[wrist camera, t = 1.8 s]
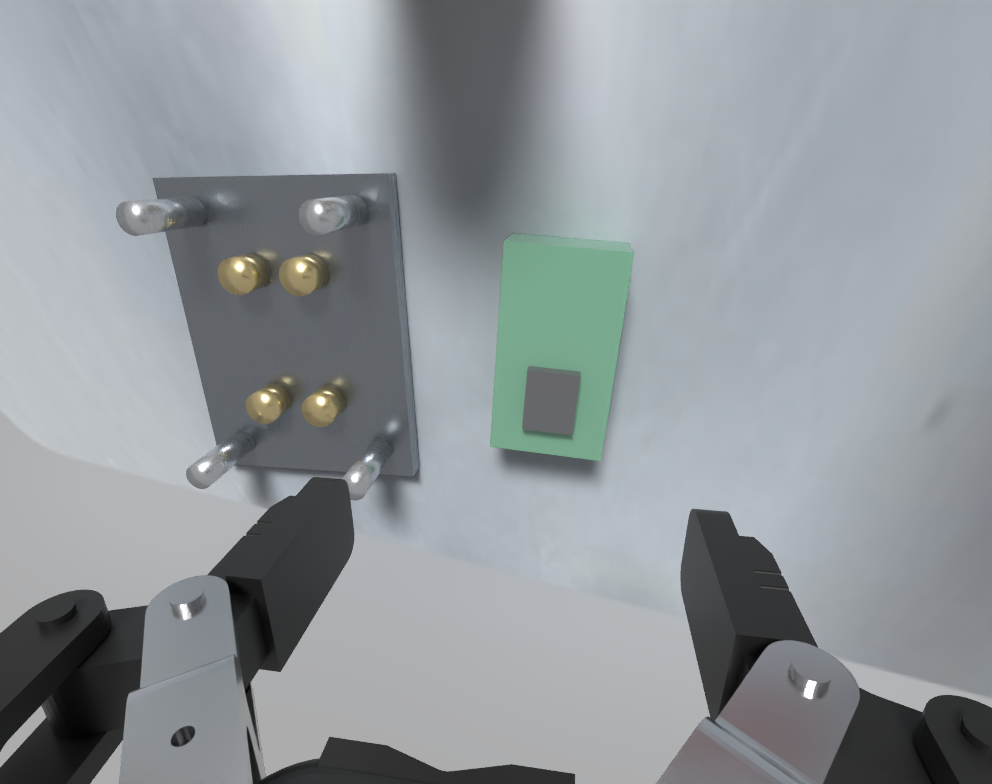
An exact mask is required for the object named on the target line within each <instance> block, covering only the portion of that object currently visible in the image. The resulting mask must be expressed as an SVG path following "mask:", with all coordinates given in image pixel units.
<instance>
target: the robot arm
mask: <svg viewBox="0 0 992 784" xmlns="http://www.w3.org/2000/svg"><path fill="white" fill-rule="evenodd" d="M353 544H354V527H353V519H352V510H351V502H350V494H349V487H348V484H347V482H346V480H344V479H332V478H320V477H313V478H312V479H311V480H310V481H309V482H308V483H307V484H306V485H305V486H304V487H303V489H302V490H301V491H300V492H299V493H298V494H297V495H296V496H289V497H287V498H285V499H283V500H282V501H280V502H278V503H277V504H275V505H273V506H272V507H270V508H269V509H268V510H267V511H266V513H265V514H264V515H263V516H262V517H261V518H260V519H259V520H258V521H257V524H254V526H252V528H251V529H250V530H249V531H248V532H247V534H246V536H243V537H242V538H241V539H240V540H239V541H238V543H237V544H236V545H235V546H234V547H233V548H232V549H231V550H230V551H229V552H228V553H227V554H226V555H225V556H224V558H223V559H222V560H221V561H220V562H219V563H218V564H217V565H216V566H215V567H214V568H213V569H212V570H211V572H210V573H209V574H208V575H205V576H204V575H203V576H195V577H191V578H187V579H184V580H181V581H179V582H177V583H174V584H173V585H171V586H169V587H167V588H166V589H164V590H163V591H162V592H160V593H159V594H158V595H157V596H155V598H154V599H153V600H152V601H151V602H150V604H149V605H148V606H140V607H134V608H125V609H118V610H111V611H108V610H107V607H106V604H105V601H104V598H103V596H102V595H101V594H100V593H98V592H96V591H93V590H75V591H71V592H66V593H63V594H59V595H57V596H54V597H52V598H49V599H47V600H45V601H43V602H41V603H39V604H37V605H36V606H34V607H32V608H31V609H29V610H28V611H27V612H25V613H24V614H23V615H22V616H20V617H19V618H18V619H17V620H16V621H14V622H13V623H12V624H11V625H10V626H9V627H7V628H6V629H5V630H4V631H3V632H1V633H0V751H1V750H2V748H3V746H4V745H5V743H6V742H7V741H8V740H9V739H10V737H11V736H12V735H13V734H14V733H15V732H16V731H17V730H18V729H19V728H20V727H21V726H22V725H23V724H24V723H25V722H26V721H27V719H28V718H29V717H30V716H31V715H32V714H33V713H34V712H35V711H36V710H37V709H38V708H39V707H40V706H42V708H43V710H44V712H45V715H46V719H45V720H44V721H43V722H42V723H41V724H40V725H39V726H38V727H37V728H36V729H35V731H34V732H33V733H32V734H31V735H30V736H29V737H28V738H27V739H26V740H25V741H24V742H23V744H22V745H21V746H20V747H19V748H18V749H17V750H16V751H15V752H14V753H13V755H11V757H10V758H9V759H8V760H7V761H6V762H5V763H4V764H3V765H2V766H1V767H0V784H90V783H91V782H92V780H93V779H94V778H95V776H96V775H97V774H98V772H99V771H100V770H101V768H102V767H103V765H104V764H105V763H106V761H107V760H108V759H109V757H110V756H111V755H112V753H113V752H114V751H115V749H116V748H117V747H118V745H119V744H120V743H121V741H122V740H123V745H122V755H121V766H120V776H119V784H575V774H571V773H564V772H558V771H551V770H545V769H538V768H532V767H525V766H518V765H512V764H511V765H503V766H494V767H486V768H478V769H468V770H460V771H449V772H446V771H441V770H438V769H436V768H434V767H432V766H430V765H428V764H425V763H423V762H421V761H419V760H417V759H415V758H413V757H410V756H408V755H406V754H404V753H402V752H400V751H398V750H395V749H393V748H391V747H389V746H387V745H380V744H374V743H367V742H360V741H354V740H347V739H340V738H333V737H329V739H328V741H327V744H326V746H325V748H324V750H323V753H322V755H321V757H320V759H313V760H308V761H305V762H300V763H297V764H294V765H291V766H289V767H286V768H284V769H281V770H279V771H277V772H275V773H273V774H271V775H269V776H267V777H266V773H265V767H264V761H263V754H262V747H261V741H260V735H259V727H258V720H257V713H256V707H255V699H254V693H253V688H252V684H251V681H252V679H253V678H254V676H255V675H256V673H257V671H258V670H259V669H263V670H270V671H277V672H281V670H282V668H283V667H284V665H285V664H286V662H287V660H288V659H289V657H290V655H291V654H292V652H293V650H294V649H295V647H296V646H297V644H298V642H299V641H300V639H301V637H302V635H303V634H304V632H305V631H306V629H307V627H308V626H309V624H310V622H311V620H312V619H313V617H314V616H315V614H316V612H317V611H318V609H319V608H320V606H321V604H322V603H323V601H324V599H325V598H326V596H327V594H328V592H329V591H330V589H331V588H332V586H333V584H334V583H335V581H336V580H337V578H338V576H339V575H340V573H341V571H342V570H343V568H344V566H345V565H346V563H347V561H348V560H349V558H350V555H351V553H352V549H353ZM681 591H682V597H683V601H684V605H685V610H686V614H687V618H688V623H689V627H690V631H691V635H692V640H693V644H694V648H695V653H696V657H697V661H698V666H699V669H700V674H701V679H702V683H703V687H704V692H705V696H706V700H707V704H708V709H709V713H710V717H706V718H704V719H703V720H702V721H701V722H700V723H699V725H698V726H697V727H696V729H695V730H694V732H693V733H692V734H691V736H690V737H689V738H688V740H687V741H686V743H685V744H684V745H683V747H682V748H681V750H680V751H679V752H678V754H677V755H676V756H675V758H674V759H673V761H672V762H671V763H670V765H669V766H668V768H667V769H666V771H665V772H664V773H663V775H662V776H661V777H660V779H659V780H658V782H657V783H656V784H992V708H991V707H989V706H987V705H984V704H982V703H980V702H977V701H974V700H971V699H968V698H964V697H960V696H953V695H941V696H937V697H934V698H932V699H930V700H929V702H928V703H927V704H926V706H925V708H924V711H923V712H920V711H917V710H915V709H912V708H909V707H906V706H904V705H901V704H898V703H895V702H892V701H889V700H886V699H884V698H881V697H879V696H876V695H874V694H871V693H869V692H867V691H865V690H863V689H861V688H859V687H858V685H857V682H856V680H855V679H854V677H853V675H852V674H851V673H850V671H849V670H848V669H847V668H846V667H845V666H844V665H843V664H842V663H841V662H840V661H839V660H837V659H836V658H835V657H833V656H832V655H830V654H829V653H827V652H825V651H824V650H822V649H820V648H818V646H817V644H816V642H815V640H814V638H813V636H812V634H811V632H810V630H809V628H808V626H807V624H806V622H805V620H804V618H803V616H802V614H801V612H800V610H799V608H798V606H797V604H796V602H795V600H794V598H793V596H792V593H791V592H789V587H788V585H787V583H786V581H785V579H784V577H783V576H781V571H780V569H779V567H778V565H777V563H776V561H775V559H774V557H773V555H772V553H770V552H769V551H768V550H767V549H766V548H765V547H764V546H763V545H762V544H761V543H760V542H759V541H758V540H756V539H755V538H754V537H745V536H739V535H738V533H737V530H736V528H735V525H734V523H733V521H732V518H731V516H730V514H729V513H728V512H725V511H712V510H700V509H692V510H691V512H690V515H689V520H688V526H687V532H686V538H685V545H684V551H683V557H682V564H681Z"/></svg>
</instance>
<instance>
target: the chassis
mask: <svg viewBox="0 0 992 784" xmlns="http://www.w3.org/2000/svg"><path fill="white" fill-rule="evenodd" d="M153 182H154V186H155V190H156V194H157V199H156V200H142V201H128V202H123V203H121V204H120V205H119V206H118V207H117V210H116V217H117V221H118V223H119V225H120V227H121V228H122V229H123V230H124V231H125V232H126V233H128V234H130V235H133V236H138V235H145V234H152V233H159V232H166V236H167V240H168V244H169V248H170V253H171V257H172V261H173V265H174V269H175V273H176V278H177V282H178V286H179V290H180V294H181V298H182V303H183V307H184V311H185V315H186V319H187V323H188V328H189V332H190V336H191V340H192V344H193V348H194V353H195V357H196V361H197V365H198V369H199V373H200V378H201V382H202V386H203V390H204V394H205V398H206V402H207V407H208V411H209V415H210V419H211V423H212V427H213V432H214V436H215V440H216V444H217V447H215V448H214V449H213V450H211V451H210V452H209V453H207V454H206V455H205V456H203V457H202V458H201V459H199V460H198V461H197V462H195V463H194V464H193V465H191V466H190V467H189V468H188V469H187V471H186V476H187V479H188V481H189V482H190V483H191V484H192V485H193V486H195V487H197V488H200V489H205V488H208V487H209V486H210V485H211V484H213V483H214V482H215V481H216V480H217V479H219V478H220V477H221V476H222V475H223V474H225V473H226V472H227V471H228V470H229V469H231V468H232V467H233V466H234V465H248V466H263V467H278V468H292V469H307V470H322V471H337V472H347V473H346V474H345V475H344V477H343V478H342V479H344V480H346V482H347V484H348V487H349V494H350V500H360V499H362V498H363V497H364V496H365V494H366V493H367V491H368V490H369V488H370V487H371V485H372V484H373V482H374V481H375V479H376V478H377V477H378V475H379V474H381V475H396V476H411V477H414V475H415V473H416V471H417V470H418V468H419V454H418V442H417V430H416V418H415V405H414V393H413V381H412V369H411V356H410V344H409V332H408V320H407V308H406V295H405V283H404V271H403V259H402V246H401V234H400V222H399V210H398V197H397V185H396V173H392V174H340V175H287V176H235V177H182V178H153Z"/></svg>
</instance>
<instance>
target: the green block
mask: <svg viewBox="0 0 992 784" xmlns="http://www.w3.org/2000/svg"><path fill="white" fill-rule="evenodd" d="M633 256H634V251H633V250H632V248H631V246H630V244H629V243H626V242H614V241H602V240H590V239H578V238H566V237H554V236H542V235H530V234H518V233H512V234H511V235H510V236H509V237H508V238H507V239H506V240H504V242H503V258H502V273H501V288H500V303H499V318H498V333H497V348H496V364H495V379H494V394H493V409H492V424H491V439H490V447H496V448H504V449H512V450H519V451H527V452H535V453H542V454H550V455H558V456H565V457H573V458H581V459H588V460H596V461H601V458H602V451H603V445H604V439H605V432H606V426H607V420H608V414H609V407H610V401H611V395H612V388H613V382H614V376H615V370H616V363H617V357H618V351H619V344H620V338H621V332H622V326H623V319H624V313H625V307H626V300H627V294H628V288H629V282H630V275H631V269H632V263H633Z"/></svg>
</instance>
